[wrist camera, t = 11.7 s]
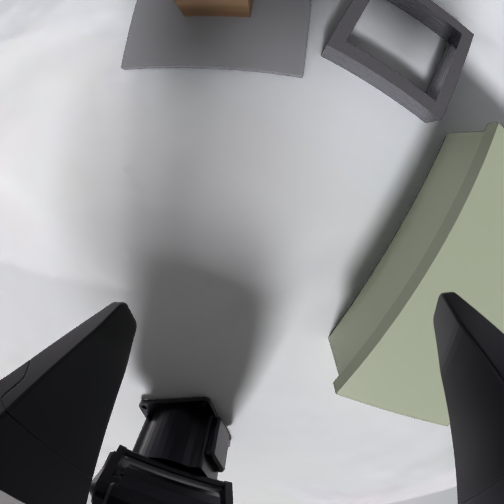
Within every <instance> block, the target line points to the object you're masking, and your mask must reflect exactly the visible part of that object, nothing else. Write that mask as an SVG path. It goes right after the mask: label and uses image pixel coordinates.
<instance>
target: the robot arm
mask: <svg viewBox="0 0 504 504" xmlns="http://www.w3.org/2000/svg"><path fill="white" fill-rule="evenodd" d="M433 324H434V331H435V337H436V344H437V351H438V359H439V367H440V373H441V379H442V383H443V388H444V393H445V398H446V403H447V409H448V414H449V420H450V427H451V433H452V441H453V448H454V457H455V467H456V479H457V495H458V504H504V333H503V332H502V331H500V330H499V329H498V328H497V327H496V326H495V325H494V324H492V323H491V322H490V321H489V320H488V319H487V318H485V317H484V316H483V315H482V314H481V313H479V312H478V311H477V310H476V309H475V308H474V307H472V306H471V305H470V304H469V303H467V302H466V301H465V300H464V299H463V298H461V297H460V296H459V295H458V294H456V293H455V292H445V293H441V294H440V295H439V297H438V301H437V305H436V309H435V312H434V317H433ZM135 332H136V321H135V319H134V317H133V315H132V313H131V311H130V309H129V307H128V305H127V304H126V303H124V302H113V303H111V304H110V305H108V306H107V307H106V308H104V309H103V310H101V311H100V312H98V313H97V314H95V315H94V316H92V317H91V318H89V319H88V320H86V321H85V322H83V323H82V324H80V325H79V326H78V327H76V328H75V329H73V330H72V331H70V332H69V333H67V334H66V335H64V336H63V337H62V338H60V339H59V340H57V341H56V342H54V343H53V344H52V345H50V346H49V347H47V348H46V349H44V350H43V351H42V352H40V353H39V354H37V355H36V356H35V357H33V358H32V359H31V360H29V361H28V362H26V363H25V364H23V365H22V366H21V367H19V368H18V369H16V370H15V371H13V372H12V373H10V374H9V375H7V376H6V377H4V378H3V379H1V380H0V504H86V503H87V498H88V494H89V492H90V494H91V496H92V500H91V502H92V504H233V491H232V482H227V481H224V482H223V481H219V480H217V476H218V472H223V471H224V470H225V463H226V456H227V450H228V447H229V446H230V440H229V434H228V431H227V429H226V427H225V425H224V423H223V421H222V419H221V418H220V417H218V416H217V413H216V411H215V409H214V407H213V405H212V403H211V401H210V399H208V398H206V397H198V398H184V399H167V400H143V401H141V402H140V404H139V407H140V409H141V411H142V412H143V414H144V415H145V417H146V420H145V423H144V425H143V427H142V430H141V432H140V434H139V437H138V439H137V441H136V444H135V446H134V448H133V451H131V450H129V449H127V447H124V446H122V445H120V446H119V447H118V449H117V451H116V452H115V451H114V452H110V453H109V456H108V458H107V460H106V462H105V464H104V466H103V467H102V469H101V470H100V471H99V473H98V474H97V475H96V477H95V478H94V479H93V480H92V477H93V474H94V470H95V467H96V463H97V459H98V456H99V452H100V449H101V445H102V442H103V439H104V435H105V432H106V429H107V425H108V422H109V419H110V416H111V413H112V410H113V406H114V403H115V400H116V397H117V394H118V391H119V388H120V385H121V382H122V380H123V377H124V374H125V371H126V367H127V363H128V359H129V355H130V351H131V347H132V343H133V339H134V336H135ZM205 403H206V404H205Z"/></svg>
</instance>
